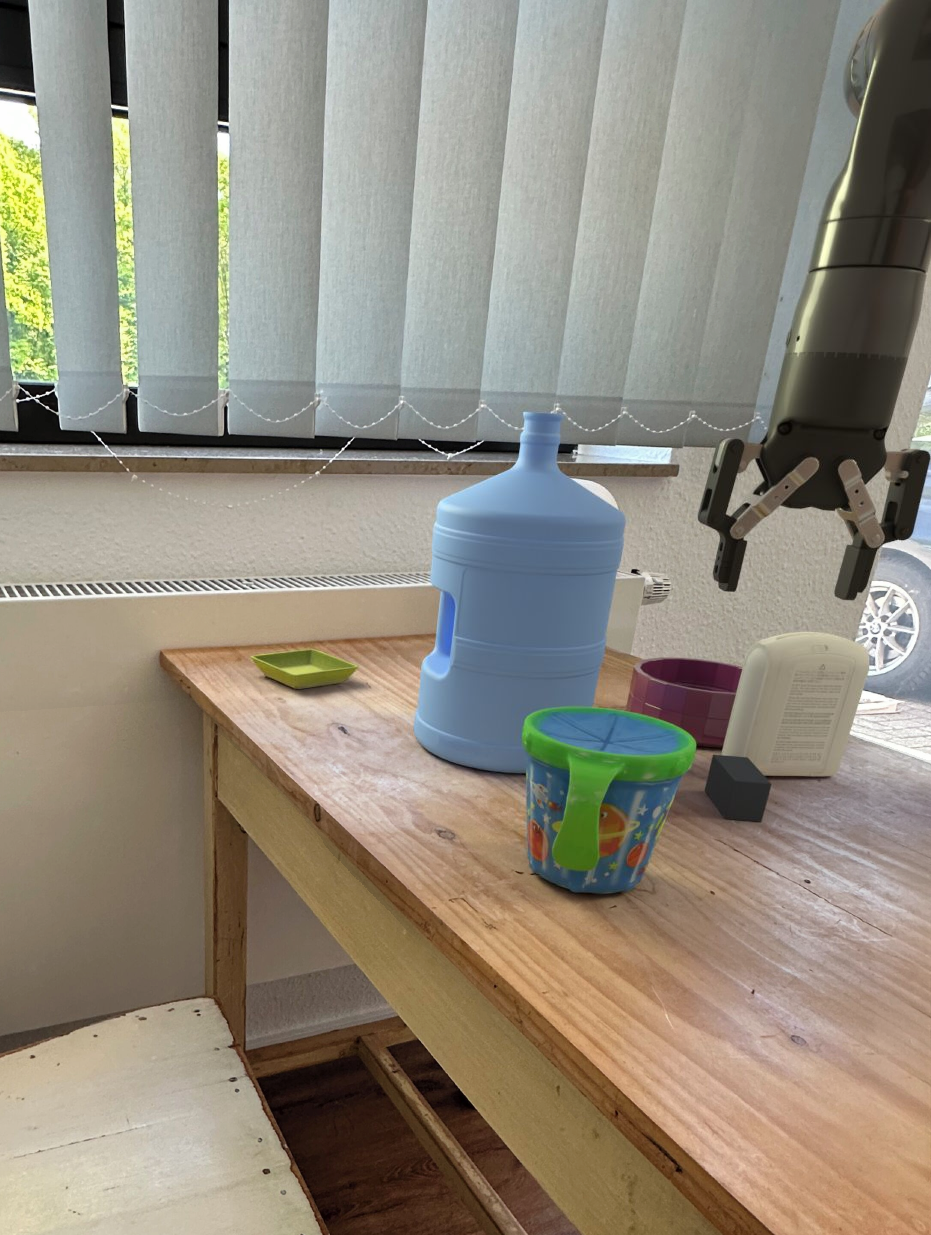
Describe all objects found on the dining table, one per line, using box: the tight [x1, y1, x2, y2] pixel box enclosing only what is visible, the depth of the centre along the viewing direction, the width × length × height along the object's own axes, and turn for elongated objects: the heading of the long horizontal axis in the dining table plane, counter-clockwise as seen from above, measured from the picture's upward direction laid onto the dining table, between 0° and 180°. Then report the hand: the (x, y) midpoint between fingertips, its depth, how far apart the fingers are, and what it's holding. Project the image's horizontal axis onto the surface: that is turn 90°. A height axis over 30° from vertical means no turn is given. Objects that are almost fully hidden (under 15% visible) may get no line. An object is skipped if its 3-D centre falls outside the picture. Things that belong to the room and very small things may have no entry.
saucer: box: [250, 648, 359, 690], centre depth 104 cm, size 9×9×2 cm
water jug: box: [413, 411, 627, 774], centre depth 81 cm, size 16×16×28 cm
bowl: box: [625, 657, 743, 749], centre depth 94 cm, size 13×13×6 cm
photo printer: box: [721, 631, 870, 777], centre depth 82 cm, size 10×4×12 cm, turn 98°
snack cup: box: [522, 706, 697, 895], centre depth 62 cm, size 16×10×10 cm
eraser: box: [704, 754, 772, 823], centre depth 76 cm, size 6×3×3 cm, turn 174°
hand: (785, 594), depth 71 cm, fingers open, 8 cm apart
